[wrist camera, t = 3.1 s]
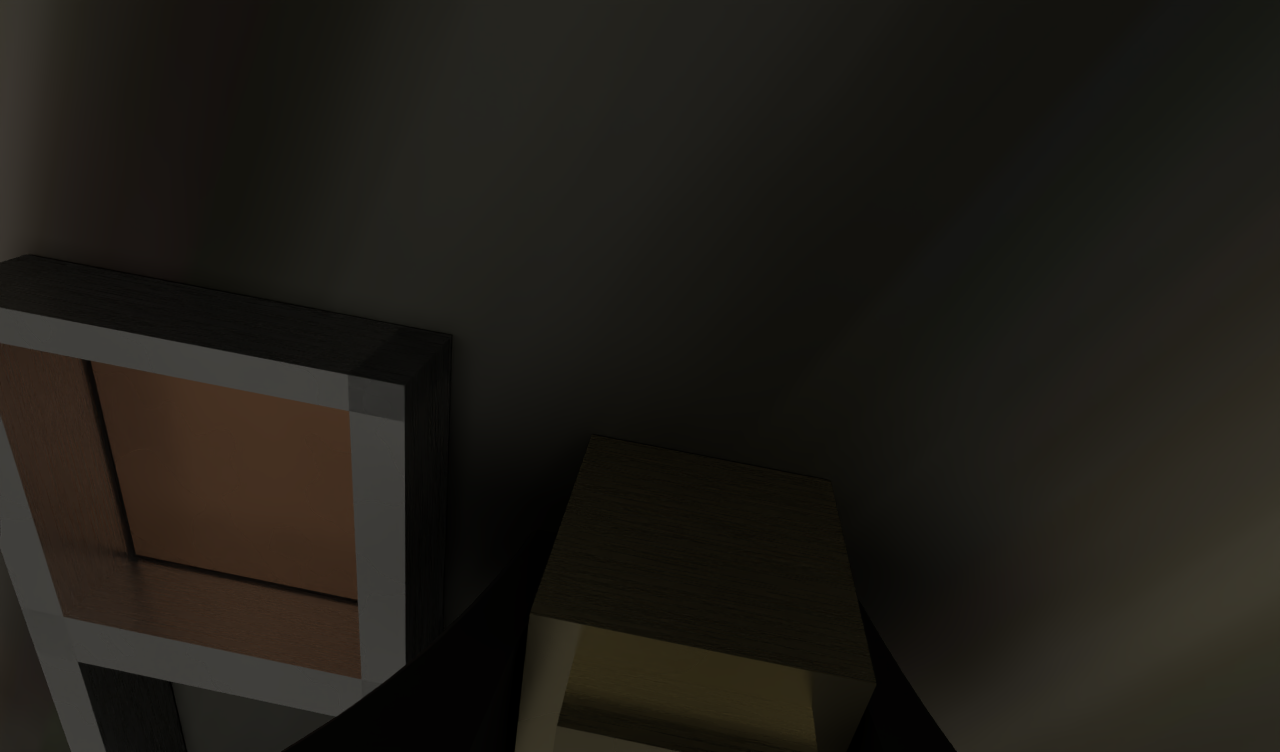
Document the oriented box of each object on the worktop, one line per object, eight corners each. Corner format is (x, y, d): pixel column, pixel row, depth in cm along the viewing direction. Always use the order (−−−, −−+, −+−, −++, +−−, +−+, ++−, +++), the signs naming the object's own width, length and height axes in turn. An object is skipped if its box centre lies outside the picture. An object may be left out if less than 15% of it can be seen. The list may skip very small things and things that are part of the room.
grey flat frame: (436, 826, 19) (406, 908, 17) (160, 766, 19) (102, 840, 18) (451, 335, 12) (404, 385, 11) (25, 254, 13) (-90, 290, 11)
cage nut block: (772, 651, 15) (793, 956, 10) (567, 609, 15) (487, 889, 10) (830, 481, 13) (893, 758, 8) (591, 434, 13) (507, 678, 8)
